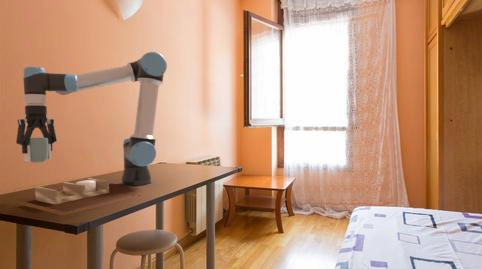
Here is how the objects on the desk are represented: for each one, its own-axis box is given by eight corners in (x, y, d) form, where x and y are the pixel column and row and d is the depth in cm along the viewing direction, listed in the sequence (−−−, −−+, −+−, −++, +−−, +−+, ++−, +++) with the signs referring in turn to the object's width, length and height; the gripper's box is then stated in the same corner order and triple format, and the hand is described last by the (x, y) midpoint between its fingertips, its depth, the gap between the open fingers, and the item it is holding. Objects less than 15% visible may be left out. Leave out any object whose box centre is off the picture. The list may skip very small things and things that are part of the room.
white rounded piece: (89, 190, 141) (89, 179, 141) (99, 192, 137) (99, 181, 137) (72, 194, 135) (72, 182, 135) (83, 196, 131) (82, 184, 131)
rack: (89, 191, 145) (89, 178, 145) (109, 195, 137) (108, 180, 137) (35, 202, 126) (35, 187, 125) (55, 207, 118) (54, 190, 118)
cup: (27, 161, 134) (26, 138, 133) (49, 160, 138) (48, 137, 137) (26, 163, 127) (25, 138, 127) (49, 162, 131) (48, 137, 131)
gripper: (53, 106, 143) (55, 157, 143) (2, 104, 124) (5, 163, 124) (65, 105, 139) (67, 157, 140) (14, 103, 120) (17, 163, 121)
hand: (38, 160), depth 132 cm, fingers closed on cup, 8 cm apart
